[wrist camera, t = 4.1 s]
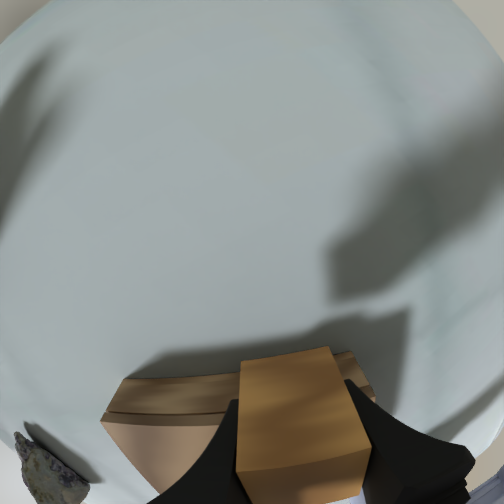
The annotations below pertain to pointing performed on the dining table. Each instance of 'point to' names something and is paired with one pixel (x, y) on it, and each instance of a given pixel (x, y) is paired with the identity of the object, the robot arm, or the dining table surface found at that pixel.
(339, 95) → the dining table surface
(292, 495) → the brown block
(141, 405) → the brown wooden open box
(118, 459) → the dining table surface
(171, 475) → the lid
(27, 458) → the mineral rock
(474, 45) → the dining table surface
